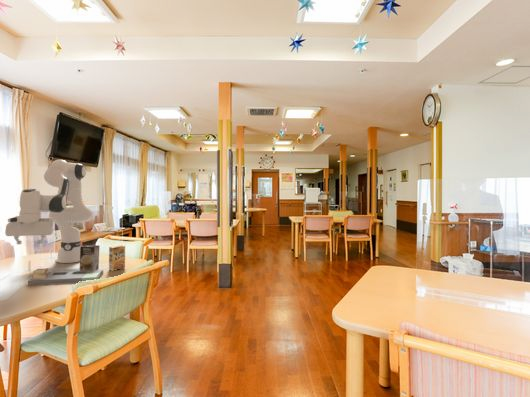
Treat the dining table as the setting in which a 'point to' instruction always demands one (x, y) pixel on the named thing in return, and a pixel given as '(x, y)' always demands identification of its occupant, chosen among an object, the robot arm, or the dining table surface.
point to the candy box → (116, 257)
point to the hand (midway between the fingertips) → (29, 243)
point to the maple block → (40, 273)
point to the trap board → (67, 277)
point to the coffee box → (89, 257)
